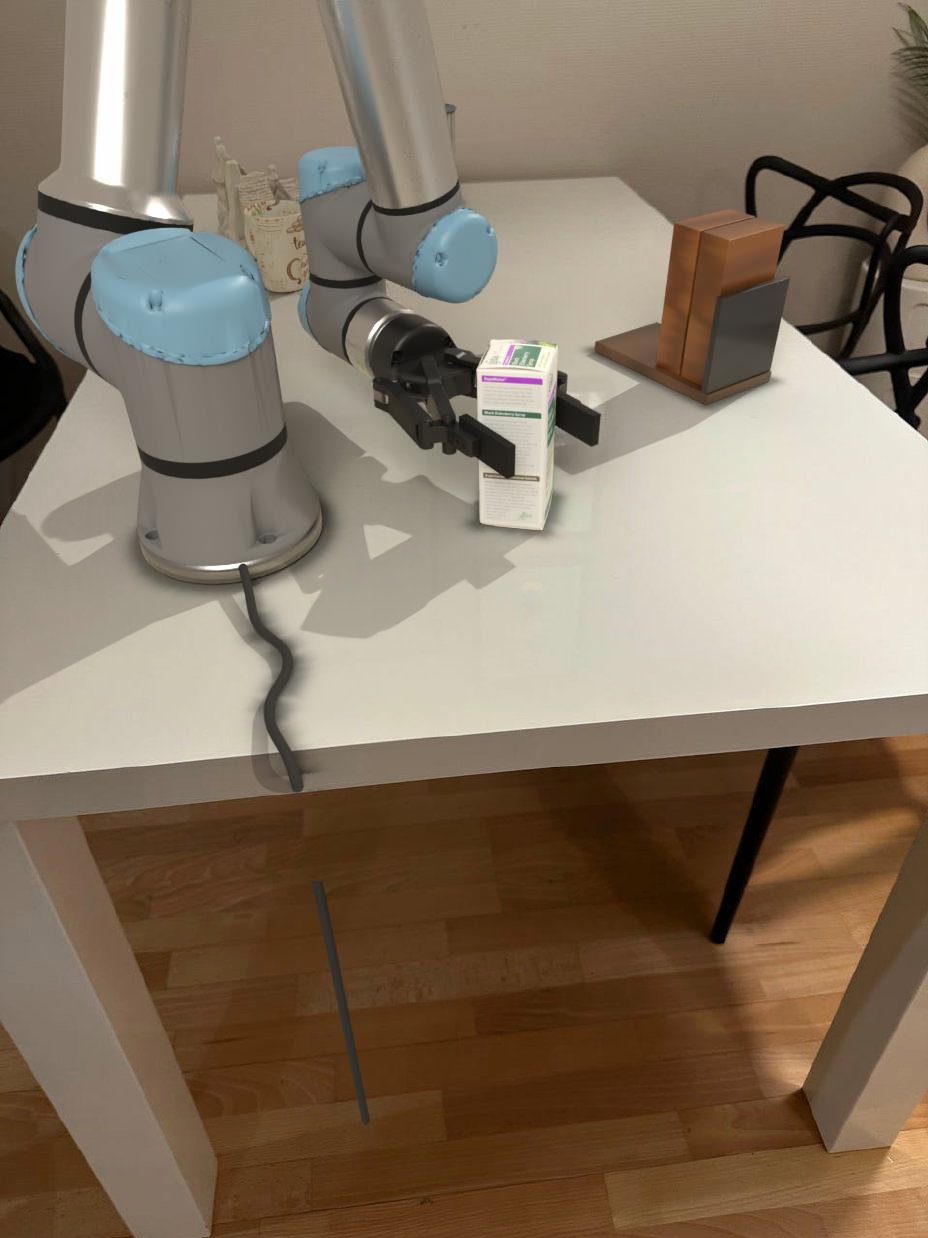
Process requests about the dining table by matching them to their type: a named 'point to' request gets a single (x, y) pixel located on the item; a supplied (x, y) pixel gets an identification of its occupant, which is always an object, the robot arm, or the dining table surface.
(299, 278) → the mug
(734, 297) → the wooden bookend
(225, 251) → the robot arm
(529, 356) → the syrup box
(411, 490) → the dining table surface
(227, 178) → the ceramic cottage
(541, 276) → the dining table surface
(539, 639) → the dining table surface
